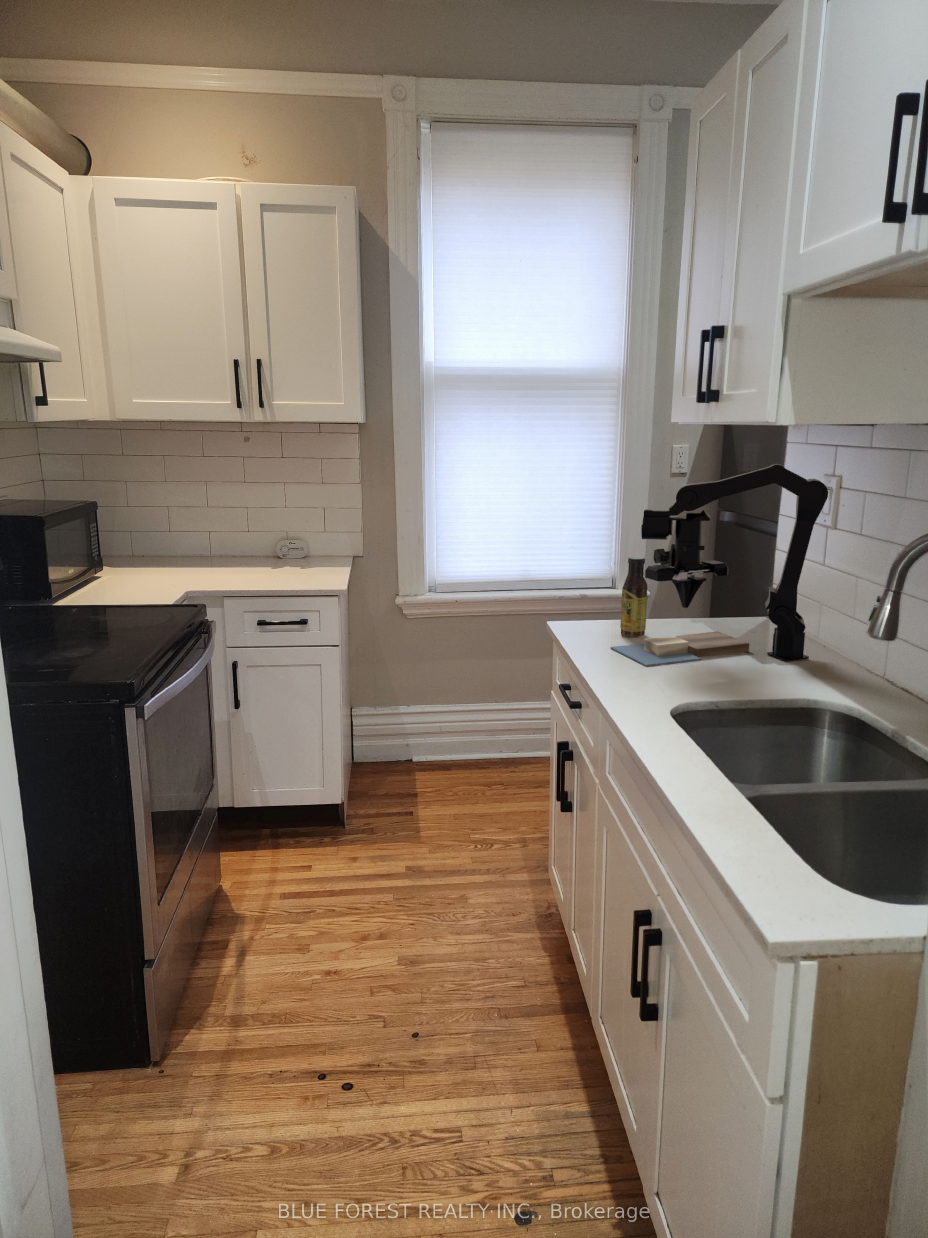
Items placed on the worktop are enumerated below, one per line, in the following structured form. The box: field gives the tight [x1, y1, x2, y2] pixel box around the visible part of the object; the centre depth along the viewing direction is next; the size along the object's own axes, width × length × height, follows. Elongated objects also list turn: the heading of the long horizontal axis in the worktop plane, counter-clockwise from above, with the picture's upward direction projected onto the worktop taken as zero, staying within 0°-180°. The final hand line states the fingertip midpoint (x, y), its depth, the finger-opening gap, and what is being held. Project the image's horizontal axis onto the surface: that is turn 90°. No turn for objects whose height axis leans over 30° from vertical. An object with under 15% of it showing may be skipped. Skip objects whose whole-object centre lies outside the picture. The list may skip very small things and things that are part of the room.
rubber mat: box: [610, 642, 702, 667], centre depth 186 cm, size 16×14×1 cm
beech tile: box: [643, 635, 689, 656], centre depth 187 cm, size 6×8×2 cm
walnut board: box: [675, 630, 750, 658], centre depth 190 cm, size 12×14×2 cm
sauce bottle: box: [619, 555, 648, 638], centre depth 201 cm, size 6×6×20 cm
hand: (685, 607), depth 187 cm, fingers closed
